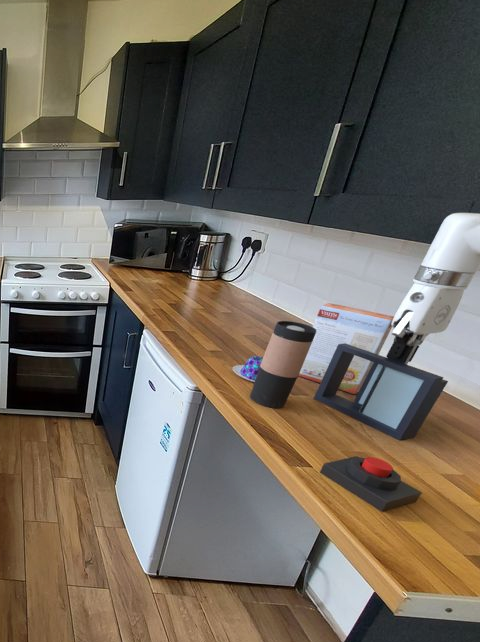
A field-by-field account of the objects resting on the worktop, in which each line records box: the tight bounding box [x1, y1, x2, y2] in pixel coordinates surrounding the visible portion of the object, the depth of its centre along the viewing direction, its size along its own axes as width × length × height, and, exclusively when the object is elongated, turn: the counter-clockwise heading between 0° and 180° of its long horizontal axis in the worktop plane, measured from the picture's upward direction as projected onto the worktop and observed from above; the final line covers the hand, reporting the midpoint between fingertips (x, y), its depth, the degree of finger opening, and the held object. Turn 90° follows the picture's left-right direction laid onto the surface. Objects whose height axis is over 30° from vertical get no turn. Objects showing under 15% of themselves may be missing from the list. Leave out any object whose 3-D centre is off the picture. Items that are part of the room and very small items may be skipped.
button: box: [361, 456, 394, 478], centre depth 71 cm, size 4×4×2 cm
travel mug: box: [249, 320, 316, 409], centre depth 96 cm, size 8×8×20 cm
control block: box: [319, 455, 423, 513], centre depth 72 cm, size 10×9×4 cm
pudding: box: [232, 355, 264, 383], centre depth 111 cm, size 12×12×5 cm
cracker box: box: [298, 302, 395, 395], centre depth 107 cm, size 14×6×21 cm, turn 34°
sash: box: [353, 339, 420, 408], centre depth 90 cm, size 7×1×19 cm, turn 17°
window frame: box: [313, 343, 449, 441], centre depth 92 cm, size 18×5×15 cm, turn 17°
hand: (398, 359), depth 88 cm, fingers closed
